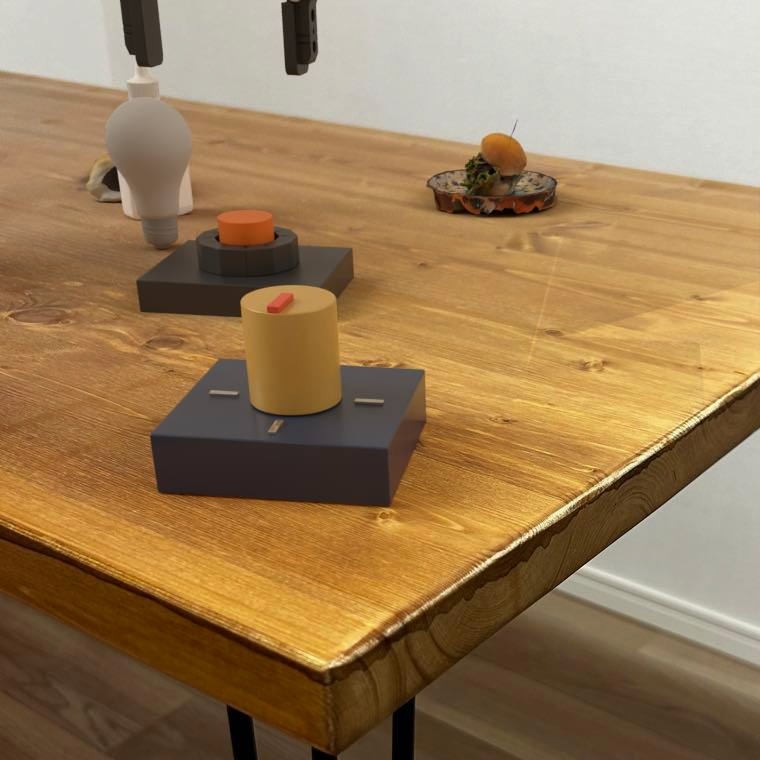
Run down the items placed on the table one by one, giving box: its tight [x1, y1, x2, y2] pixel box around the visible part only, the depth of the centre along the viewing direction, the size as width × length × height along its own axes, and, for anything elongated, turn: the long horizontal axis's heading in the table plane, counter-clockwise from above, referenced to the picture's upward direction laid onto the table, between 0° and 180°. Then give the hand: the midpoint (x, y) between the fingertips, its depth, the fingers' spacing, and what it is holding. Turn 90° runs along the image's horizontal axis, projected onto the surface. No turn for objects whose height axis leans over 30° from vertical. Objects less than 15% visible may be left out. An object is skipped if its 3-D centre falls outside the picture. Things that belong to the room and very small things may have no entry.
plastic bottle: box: [117, 61, 194, 221], centre depth 97 cm, size 4×6×12 cm
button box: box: [135, 225, 355, 318], centre depth 81 cm, size 12×10×4 cm
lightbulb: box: [104, 97, 194, 250], centre depth 89 cm, size 6×6×11 cm
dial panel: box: [149, 357, 427, 508], centre depth 59 cm, size 11×10×3 cm
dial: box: [241, 285, 342, 415], centre depth 57 cm, size 4×4×5 cm
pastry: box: [85, 153, 122, 203], centre depth 107 cm, size 9×7×4 cm
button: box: [216, 209, 275, 245], centre depth 80 cm, size 4×4×2 cm
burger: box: [425, 118, 559, 215], centre depth 106 cm, size 12×12×8 cm
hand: (223, 69), depth 67 cm, fingers open, 8 cm apart
